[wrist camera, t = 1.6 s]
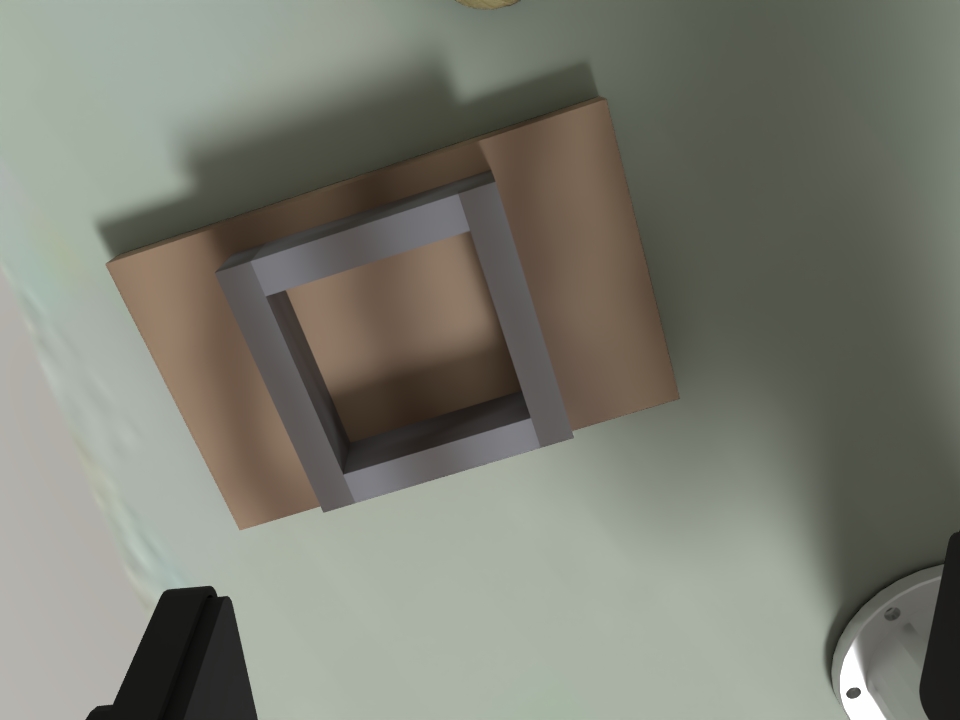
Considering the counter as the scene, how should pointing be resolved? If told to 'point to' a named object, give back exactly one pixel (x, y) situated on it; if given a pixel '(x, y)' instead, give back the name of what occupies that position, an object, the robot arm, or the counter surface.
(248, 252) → the collar stand
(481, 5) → the fennel bulb
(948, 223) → the counter surface
